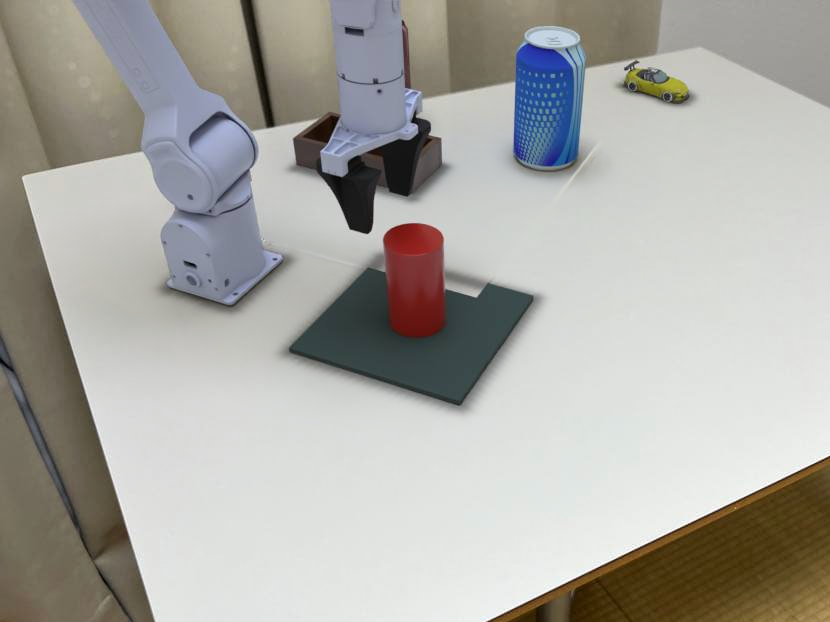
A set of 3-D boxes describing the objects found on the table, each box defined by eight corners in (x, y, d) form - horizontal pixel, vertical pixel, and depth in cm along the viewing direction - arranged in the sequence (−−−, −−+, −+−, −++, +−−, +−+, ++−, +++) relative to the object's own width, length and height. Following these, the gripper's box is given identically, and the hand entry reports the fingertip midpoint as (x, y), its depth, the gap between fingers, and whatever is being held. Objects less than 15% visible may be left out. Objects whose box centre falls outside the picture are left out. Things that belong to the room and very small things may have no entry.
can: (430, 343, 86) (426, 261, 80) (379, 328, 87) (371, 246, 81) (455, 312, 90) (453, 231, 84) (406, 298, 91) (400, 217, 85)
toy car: (678, 106, 130) (681, 86, 128) (619, 87, 134) (621, 68, 132) (693, 94, 133) (696, 75, 131) (635, 77, 137) (637, 57, 135)
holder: (411, 198, 107) (409, 167, 104) (297, 168, 111) (292, 138, 108) (442, 168, 113) (441, 137, 110) (332, 141, 117) (329, 111, 114)
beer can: (501, 165, 114) (503, 39, 103) (531, 139, 120) (537, 18, 109) (559, 182, 112) (568, 55, 101) (588, 156, 117) (599, 33, 106)
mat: (459, 405, 81) (459, 401, 80) (289, 351, 85) (288, 347, 85) (533, 299, 93) (533, 295, 93) (381, 257, 97) (381, 253, 97)
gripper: (368, 113, 70) (379, 259, 79) (450, 51, 80) (452, 187, 89) (291, 94, 71) (311, 239, 81) (381, 36, 82) (389, 170, 91)
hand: (380, 211), depth 85 cm, fingers open, 7 cm apart
